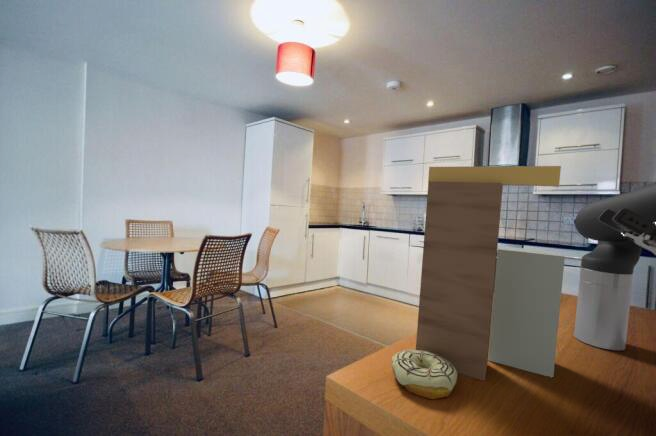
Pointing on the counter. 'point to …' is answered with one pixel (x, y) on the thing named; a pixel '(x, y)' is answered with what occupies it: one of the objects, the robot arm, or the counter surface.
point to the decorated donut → (424, 373)
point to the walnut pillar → (459, 273)
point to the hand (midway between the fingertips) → (608, 213)
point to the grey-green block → (526, 309)
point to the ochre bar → (498, 175)
